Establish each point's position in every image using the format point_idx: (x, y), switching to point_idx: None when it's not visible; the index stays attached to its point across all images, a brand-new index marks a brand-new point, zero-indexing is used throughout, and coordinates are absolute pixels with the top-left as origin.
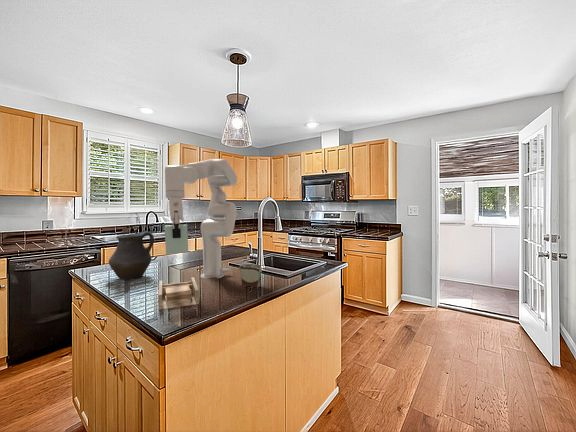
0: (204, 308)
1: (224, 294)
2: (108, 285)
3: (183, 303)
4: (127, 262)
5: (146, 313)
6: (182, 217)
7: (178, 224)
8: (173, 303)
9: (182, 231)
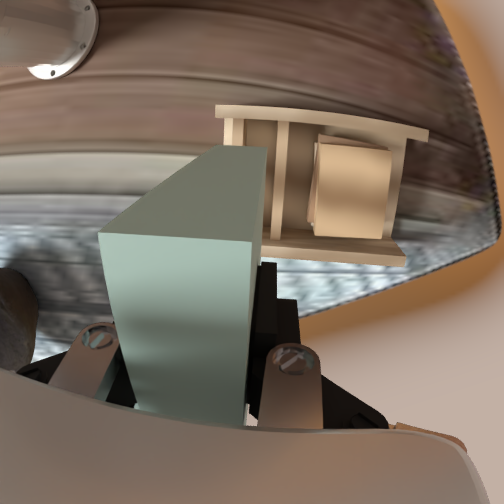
0: (418, 114)
1: (313, 11)
2: None
3: None
4: (21, 341)
5: (364, 271)
6: (487, 501)
7: (386, 424)
8: None
9: (255, 273)
